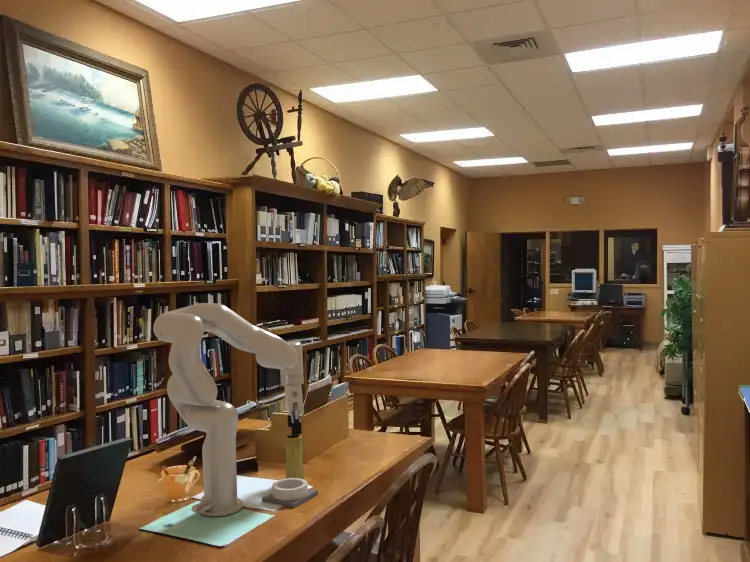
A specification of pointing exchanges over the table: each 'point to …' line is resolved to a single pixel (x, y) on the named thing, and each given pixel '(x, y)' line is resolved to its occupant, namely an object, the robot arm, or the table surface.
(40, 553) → the table surface
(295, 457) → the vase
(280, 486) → the mount
